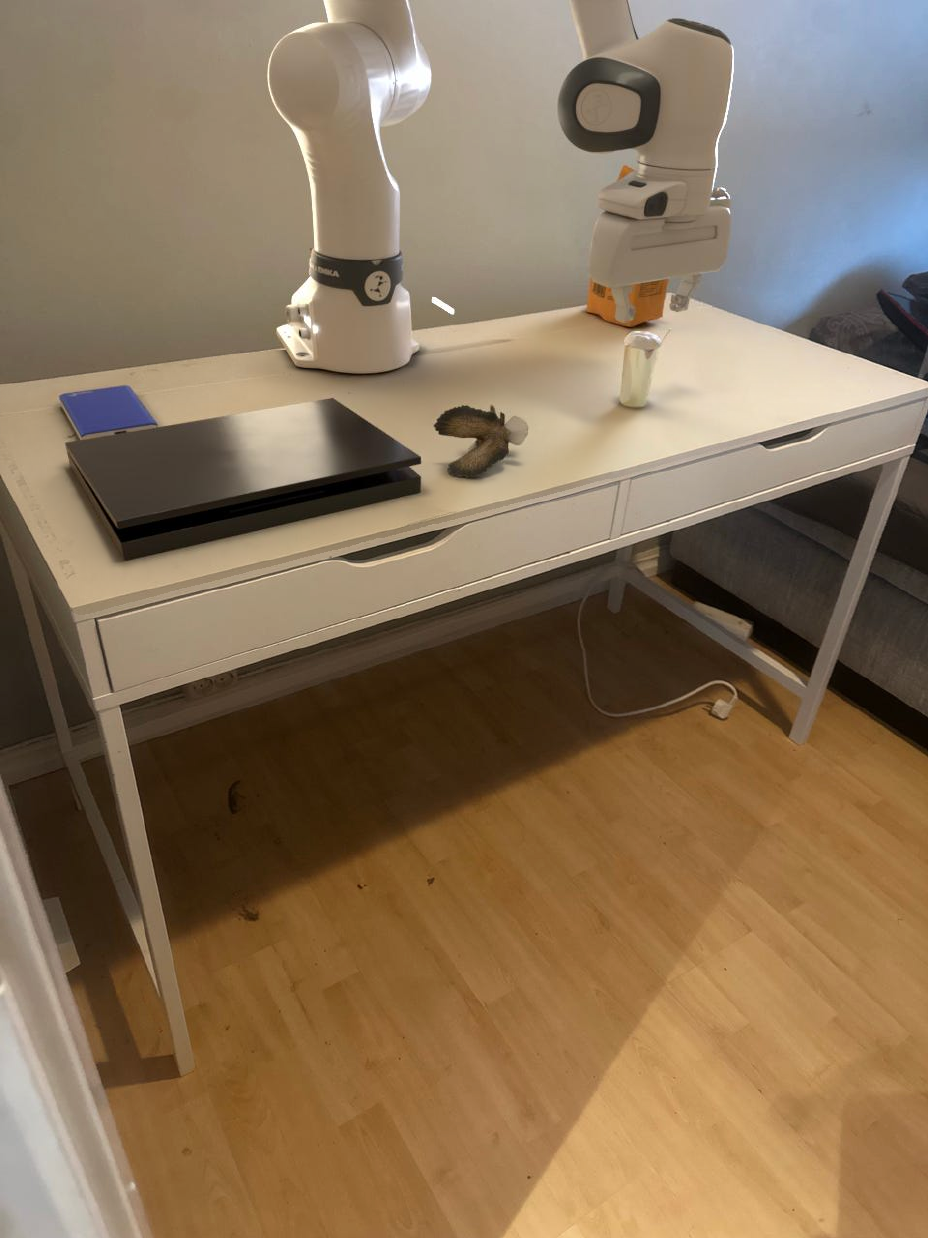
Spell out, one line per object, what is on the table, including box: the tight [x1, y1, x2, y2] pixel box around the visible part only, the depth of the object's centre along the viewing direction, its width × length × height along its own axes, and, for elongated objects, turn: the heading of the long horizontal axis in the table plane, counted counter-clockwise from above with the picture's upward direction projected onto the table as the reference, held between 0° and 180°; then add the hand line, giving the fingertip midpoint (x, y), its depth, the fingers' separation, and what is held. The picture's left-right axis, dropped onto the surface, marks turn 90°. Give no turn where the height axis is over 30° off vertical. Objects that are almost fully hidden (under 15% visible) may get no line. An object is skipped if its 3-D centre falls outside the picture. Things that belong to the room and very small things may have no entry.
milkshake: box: [619, 328, 672, 409], centre depth 113 cm, size 4×5×10 cm
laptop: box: [66, 450, 422, 561], centre depth 92 cm, size 21×30×2 cm
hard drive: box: [58, 384, 159, 440], centre depth 102 cm, size 2×8×12 cm
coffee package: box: [585, 164, 670, 328], centre depth 141 cm, size 10×12×22 cm
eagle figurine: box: [433, 404, 530, 478], centre depth 97 cm, size 8×7×9 cm
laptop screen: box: [64, 397, 422, 529], centre depth 91 cm, size 21×30×1 cm
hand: (651, 315), depth 109 cm, fingers open, 8 cm apart
